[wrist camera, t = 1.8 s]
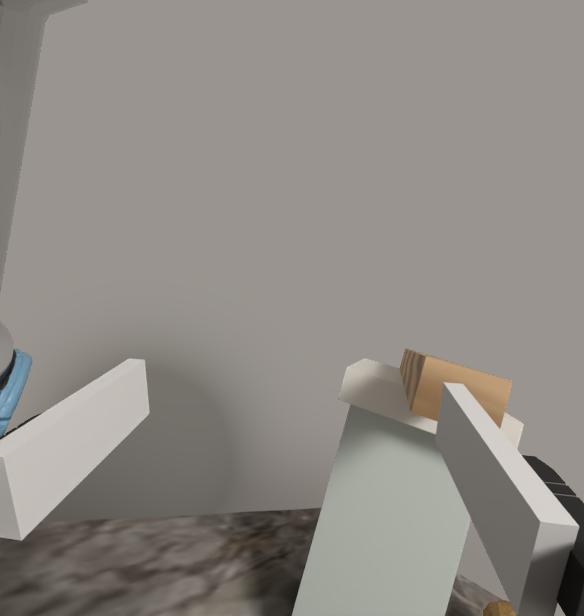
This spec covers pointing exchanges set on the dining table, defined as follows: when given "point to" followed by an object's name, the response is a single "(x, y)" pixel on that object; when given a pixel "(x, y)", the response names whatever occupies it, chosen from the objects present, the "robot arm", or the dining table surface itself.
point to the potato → (499, 609)
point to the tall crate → (386, 509)
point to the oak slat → (434, 371)
